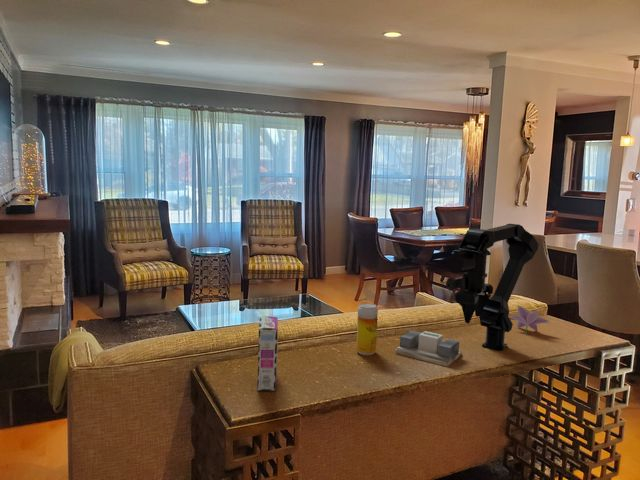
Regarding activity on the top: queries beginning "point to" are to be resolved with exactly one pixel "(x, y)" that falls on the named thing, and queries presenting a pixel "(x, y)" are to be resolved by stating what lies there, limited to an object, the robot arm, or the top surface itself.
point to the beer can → (367, 329)
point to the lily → (528, 319)
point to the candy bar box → (267, 353)
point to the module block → (429, 342)
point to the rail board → (445, 355)
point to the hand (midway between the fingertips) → (472, 319)
